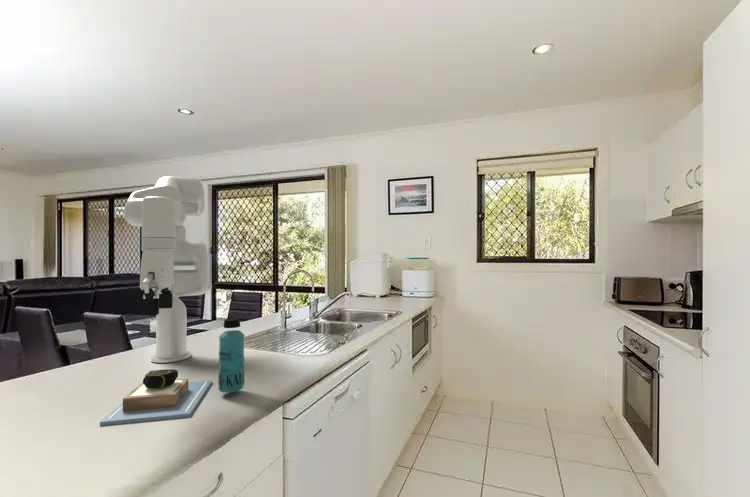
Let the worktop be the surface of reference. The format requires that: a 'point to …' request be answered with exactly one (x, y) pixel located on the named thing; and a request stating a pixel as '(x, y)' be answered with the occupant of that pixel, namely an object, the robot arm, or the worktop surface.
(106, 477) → the worktop surface
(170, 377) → the tape measure
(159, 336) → the robot arm
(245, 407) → the worktop surface
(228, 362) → the beverage bottle
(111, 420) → the board
